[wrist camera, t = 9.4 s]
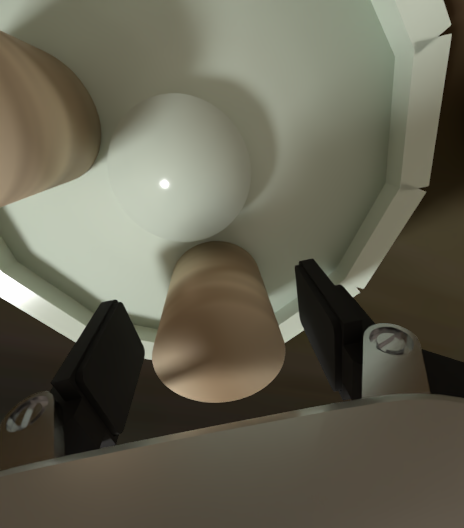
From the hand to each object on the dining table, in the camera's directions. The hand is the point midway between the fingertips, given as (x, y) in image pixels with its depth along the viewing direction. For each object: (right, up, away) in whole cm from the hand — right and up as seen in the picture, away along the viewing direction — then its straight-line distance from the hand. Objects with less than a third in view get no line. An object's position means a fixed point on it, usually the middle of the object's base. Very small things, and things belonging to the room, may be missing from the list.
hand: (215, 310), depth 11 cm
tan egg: (0, +1, +2) cm, 2 cm away
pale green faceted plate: (-1, +6, 0) cm, 6 cm away
